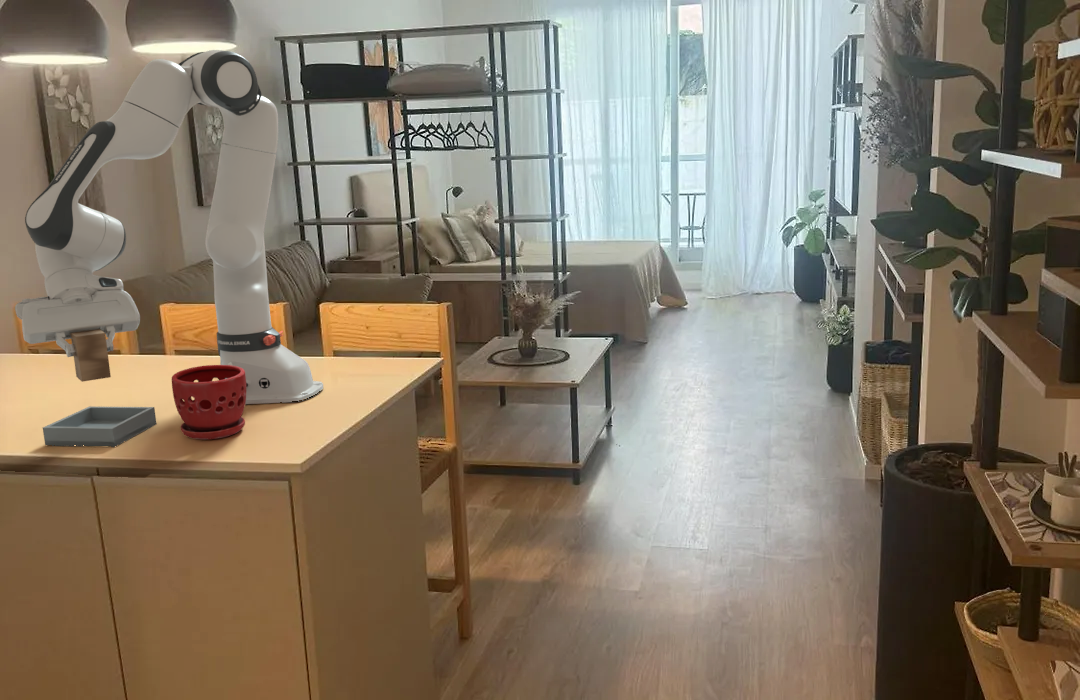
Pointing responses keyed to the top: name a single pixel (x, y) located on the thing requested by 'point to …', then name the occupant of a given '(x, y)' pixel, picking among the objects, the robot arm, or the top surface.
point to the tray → (99, 426)
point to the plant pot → (210, 400)
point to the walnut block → (91, 355)
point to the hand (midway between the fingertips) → (90, 352)
